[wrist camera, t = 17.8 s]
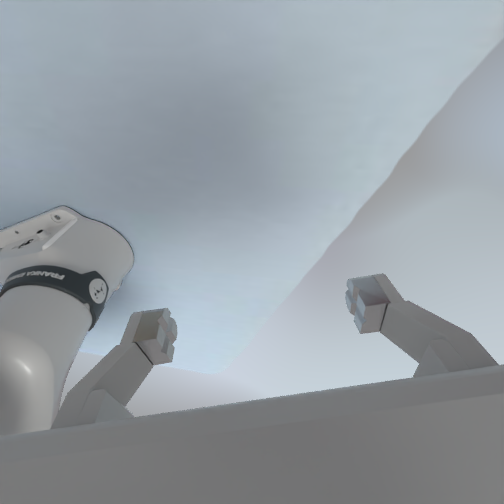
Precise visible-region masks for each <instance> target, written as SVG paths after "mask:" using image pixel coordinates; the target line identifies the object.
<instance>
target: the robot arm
mask: <svg viewBox="0 0 504 504" xmlns="http://www.w3.org/2000/svg"><path fill="white" fill-rule="evenodd" d="M57 215H58V216H59V217H58V216H57ZM133 262H134V256H133V252H132V249H131V247H130V245H129V244H128V242H127V241H126V240H125V239H124V238H123V237H122V236H121V235H120V234H119V233H118V232H116V231H115V230H114V229H112V228H111V227H109V226H107V225H105V224H103V223H100V222H98V221H95V220H91V219H88V218H85V217H83V216H81V215H80V214H78V213H77V212H75V211H74V210H72V209H70V208H68V207H65V206H60V207H57V208H55V209H52V210H50V211H47V212H45V213H42V214H40V215H37V216H35V217H33V218H30V219H28V220H25V221H23V222H20V223H18V224H15V225H13V226H10V227H8V228H5V229H3V230H0V283H1V284H2V285H3V287H2V290H1V292H0V504H504V365H499V364H498V363H497V362H496V361H495V360H494V359H493V358H492V357H491V355H490V354H489V353H488V352H487V351H486V350H485V349H484V347H483V346H482V345H481V344H480V343H479V342H478V341H477V340H476V338H475V337H474V336H473V335H472V334H471V333H469V332H467V331H465V330H463V329H461V328H460V327H458V326H455V325H454V324H452V323H450V322H448V321H446V320H444V319H442V318H440V317H439V316H437V315H435V314H433V313H431V312H429V311H427V310H425V309H423V308H421V307H420V306H418V305H416V304H414V303H412V302H410V301H404V299H403V298H402V297H401V295H400V294H399V293H398V291H397V290H396V288H395V287H394V286H393V284H392V283H391V282H390V280H389V279H388V278H387V276H386V275H385V274H376V275H371V276H364V277H358V278H352V279H348V281H347V287H348V290H347V292H346V304H347V307H348V309H349V311H350V313H351V314H353V315H354V316H355V317H354V322H355V324H356V326H357V328H358V330H359V332H360V334H363V333H371V332H379V331H380V333H382V334H383V335H384V336H386V337H387V338H388V339H389V340H390V341H392V342H393V343H394V344H396V345H397V346H398V347H399V348H401V349H402V350H403V351H404V352H406V353H407V354H408V355H409V356H411V357H412V358H413V359H414V360H416V361H417V362H418V363H419V365H418V367H417V369H416V371H415V373H414V375H413V378H406V379H399V380H392V381H385V382H379V383H371V384H365V385H357V386H350V387H343V388H336V389H329V390H322V391H315V392H308V393H301V394H294V395H287V396H280V397H273V398H266V399H259V400H252V401H245V402H238V403H231V404H224V405H217V406H210V407H203V408H196V409H190V410H182V411H176V412H168V413H161V414H155V415H148V416H140V417H134V416H133V414H132V413H131V412H130V411H129V410H128V409H127V408H125V406H126V404H127V403H128V402H129V400H130V399H131V398H132V396H133V395H134V393H135V392H136V390H137V389H138V388H139V386H140V385H141V383H142V382H143V380H144V379H145V377H146V376H147V375H148V373H149V372H150V371H151V369H152V368H153V365H158V364H164V363H169V362H172V359H173V354H174V349H175V348H174V346H173V345H172V344H173V343H174V341H175V340H176V338H177V325H176V322H175V320H174V319H173V318H171V317H170V311H169V310H168V308H163V309H155V310H148V311H141V312H134V313H133V314H132V315H131V317H130V319H129V322H128V324H127V327H126V330H125V332H124V335H123V337H122V340H121V342H120V345H116V346H115V347H114V348H113V349H112V350H111V351H110V352H109V353H108V354H107V355H106V356H105V357H104V358H103V359H102V360H101V361H100V362H99V363H98V364H97V365H96V366H95V367H94V368H93V369H92V370H91V371H90V372H89V373H88V374H87V375H86V376H85V377H84V378H83V379H81V381H79V382H78V383H77V384H76V385H75V386H74V387H73V388H72V389H71V390H70V391H69V392H68V393H67V396H66V397H65V400H64V402H63V404H62V406H61V408H60V410H59V407H60V401H61V396H62V392H63V388H64V384H65V381H66V378H67V375H68V372H69V370H70V368H71V365H72V363H73V361H74V359H75V357H76V355H77V352H78V350H79V348H80V346H81V344H82V342H83V340H84V338H85V336H86V334H87V332H88V331H90V330H91V329H92V328H93V327H94V325H95V323H96V322H97V321H98V319H99V316H100V314H101V312H102V310H103V309H104V306H105V304H106V303H107V301H108V300H109V298H110V297H111V295H112V294H113V292H114V291H116V290H118V289H119V287H120V286H121V284H122V279H123V278H124V277H125V275H126V274H127V273H128V272H129V271H130V270H131V268H132V266H133Z"/></svg>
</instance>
